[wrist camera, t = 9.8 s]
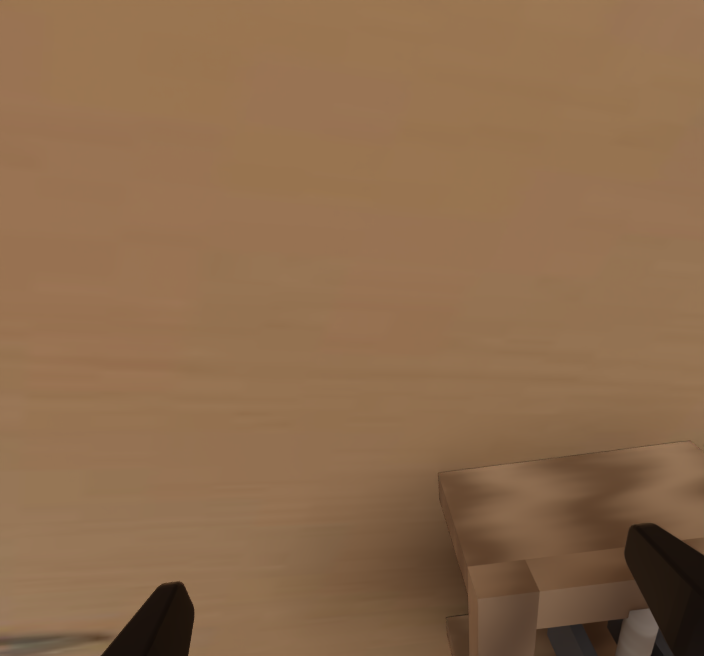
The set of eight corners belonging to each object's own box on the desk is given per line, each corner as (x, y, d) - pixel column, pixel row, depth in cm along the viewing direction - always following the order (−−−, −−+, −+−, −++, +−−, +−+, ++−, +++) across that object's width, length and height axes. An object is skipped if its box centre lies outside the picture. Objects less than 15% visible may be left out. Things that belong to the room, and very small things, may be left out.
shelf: (690, 440, 23) (845, 569, 16) (646, 610, 29) (744, 757, 22) (437, 473, 23) (482, 614, 16) (447, 635, 29) (482, 788, 22)
